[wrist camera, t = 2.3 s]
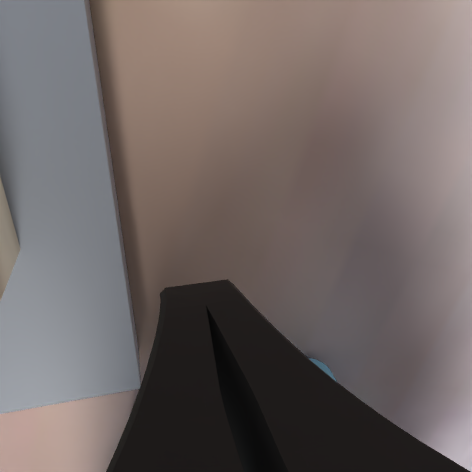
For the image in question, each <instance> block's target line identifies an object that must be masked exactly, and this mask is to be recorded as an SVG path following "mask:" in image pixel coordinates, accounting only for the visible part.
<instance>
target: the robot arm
mask: <svg viewBox="0 0 472 472" xmlns="http://www.w3.org/2000/svg"><path fill="white" fill-rule="evenodd" d="M160 298H161V304H160V315H159V321H158V326H157V331H156V336H155V340H154V343H153V347H152V351H151V354H150V358H149V362H148V365H147V369H146V372H145V375H144V378H143V381H142V384H141V386H140V389H139V392H138V395H137V398H136V400H135V403H134V406H133V409H132V412H131V414H130V417H129V420H128V422H127V425H126V427H125V430H124V432H123V434H122V437H121V439H120V442H119V444H118V446H117V449H116V451H115V453H114V455H113V458H112V460H111V462H110V464H109V467H108V469H107V471H106V472H470V471H468V470H467V469H465V468H463V467H462V466H460V465H459V464H457V463H455V462H454V461H452V460H450V459H449V458H447V457H445V456H444V455H442V454H440V453H439V452H437V451H435V450H434V449H432V448H430V447H429V446H427V445H425V444H424V443H422V442H421V441H419V440H417V439H416V438H414V437H413V436H411V435H410V434H408V433H407V432H405V431H404V430H402V429H401V428H399V427H398V426H396V425H395V424H393V423H392V422H390V421H389V420H387V419H386V418H384V417H383V416H382V415H380V414H379V413H377V412H376V411H375V410H373V409H372V408H370V407H369V406H368V405H366V404H365V403H363V402H362V401H361V400H359V399H358V398H357V397H355V396H354V395H353V394H352V393H350V392H349V391H348V390H346V389H345V388H344V387H343V386H341V385H340V384H339V383H337V382H336V381H335V380H334V379H333V378H331V377H330V376H329V375H328V374H326V373H325V372H324V371H323V370H322V369H320V368H319V367H318V366H317V365H316V364H314V363H313V362H312V361H311V360H310V359H309V358H308V357H306V356H305V355H304V354H303V353H302V352H301V351H300V350H298V349H297V348H296V347H295V346H294V345H293V344H292V343H291V342H290V341H289V340H288V339H287V338H285V337H284V336H283V335H282V334H281V333H280V332H279V331H278V330H277V329H276V328H275V327H274V326H273V325H272V324H271V323H270V322H269V321H268V320H267V319H266V318H265V317H264V316H263V315H262V314H261V313H260V312H259V311H258V310H257V309H256V308H255V307H254V306H253V305H252V304H251V303H250V302H249V301H248V300H247V299H246V298H245V297H244V295H243V294H242V293H241V292H240V291H239V290H238V289H237V288H236V287H235V286H234V284H233V283H231V282H230V281H229V280H221V281H213V282H206V283H198V284H191V285H183V286H176V287H168V288H165V289H164V290H163V291H162V292H161V293H160Z"/></svg>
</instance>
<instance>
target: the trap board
mask: <svg viewBox="0 0 472 472" xmlns="http://www.w3.org/2000/svg"><path fill="white" fill-rule="evenodd" d="M0 177H1V181H2V184H3V188H4V191H5V195H6V199H7V202H8V206H9V209H10V213H11V217H12V220H13V224H14V228H15V231H16V235H17V238H18V242H19V246H20V252H19V254H18V257H17V260H16V262H15V265H14V267H13V270H12V273H11V275H10V278H9V280H8V283H7V285H6V288H5V291H4V293H3V296H2V298H1V301H0V414H3V413H8V412H14V411H19V410H25V409H30V408H36V407H42V406H47V405H53V404H58V403H64V402H69V401H75V400H80V399H86V398H92V397H97V396H103V395H108V394H114V393H119V392H125V391H130V390H136V389H140V386H141V381H140V364H139V349H138V342H137V335H136V328H135V321H134V314H133V307H132V300H131V293H130V286H129V279H128V271H127V264H126V257H125V250H124V243H123V236H122V229H121V222H120V215H119V208H118V201H117V194H116V187H115V180H114V173H113V166H112V159H111V151H110V144H109V137H108V130H107V123H106V116H105V109H104V102H103V95H102V88H101V81H100V74H99V67H98V60H97V53H96V46H95V39H94V31H93V24H92V17H91V10H90V3H89V0H0Z"/></svg>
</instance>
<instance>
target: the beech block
mask: <svg viewBox="0 0 472 472" xmlns="http://www.w3.org/2000/svg"><path fill="white" fill-rule="evenodd" d="M19 252H20V246H19V242H18V238H17V235H16V231H15V228H14V224H13V220H12V217H11V213H10V209H9V206H8V202H7V199H6V195H5V191H4V188H3V184H2V181H1V177H0V301H1V298H2V296H3V293H4V291H5V288H6V285H7V283H8V280H9V278H10V275H11V273H12V270H13V267H14V265H15V262H16V260H17V257H18V254H19Z"/></svg>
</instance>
